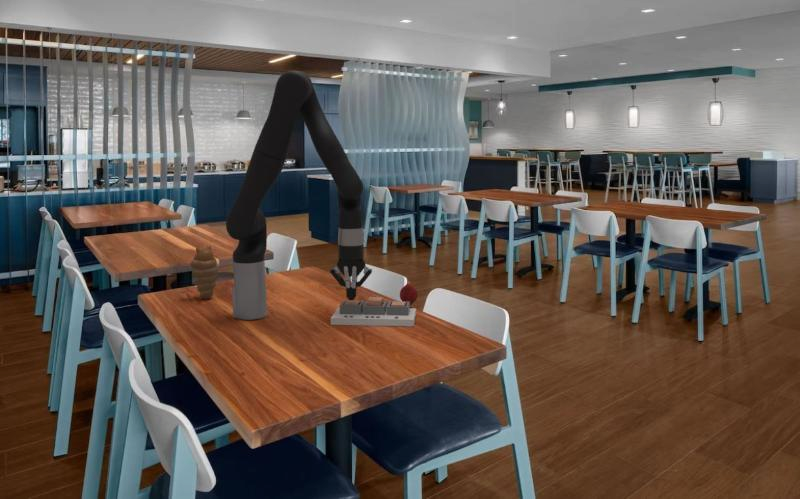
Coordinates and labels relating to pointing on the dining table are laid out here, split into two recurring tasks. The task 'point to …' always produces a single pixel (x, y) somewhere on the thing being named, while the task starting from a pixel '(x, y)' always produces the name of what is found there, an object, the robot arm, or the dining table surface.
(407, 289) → the onion
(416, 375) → the dining table surface
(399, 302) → the button one
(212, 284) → the cat ice cream
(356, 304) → the button two
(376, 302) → the button three
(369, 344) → the dining table surface
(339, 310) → the button panel
